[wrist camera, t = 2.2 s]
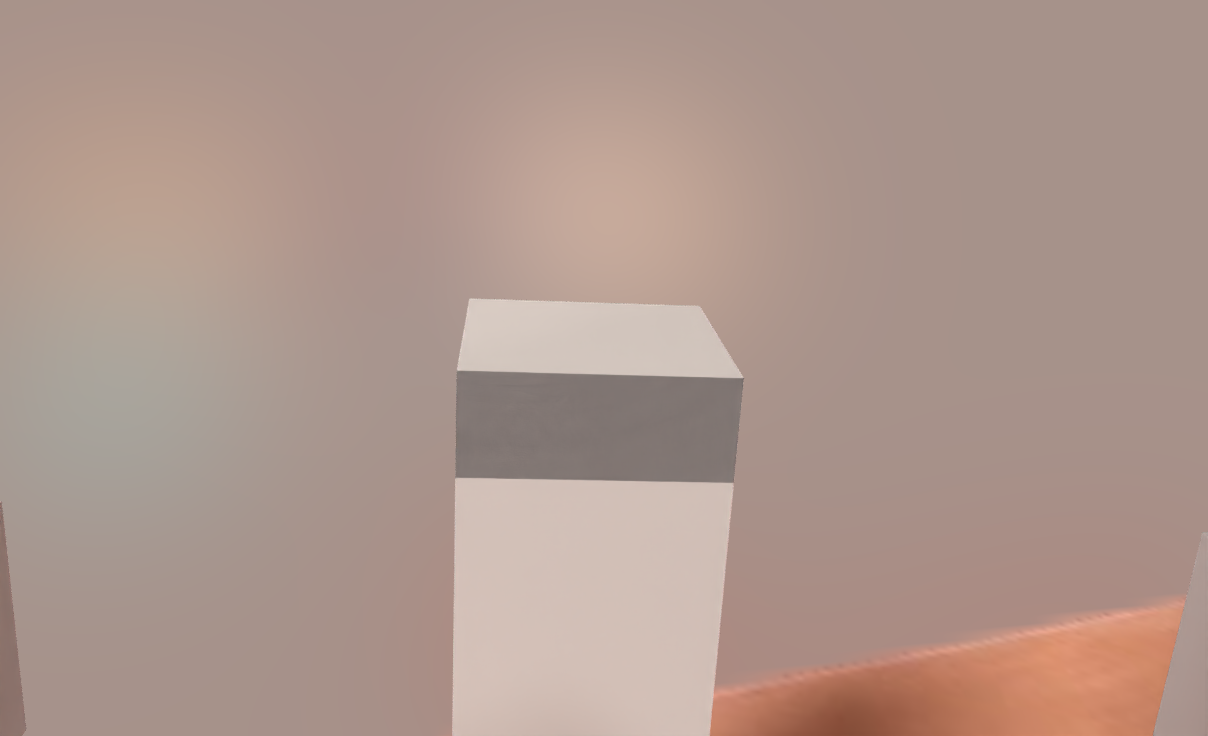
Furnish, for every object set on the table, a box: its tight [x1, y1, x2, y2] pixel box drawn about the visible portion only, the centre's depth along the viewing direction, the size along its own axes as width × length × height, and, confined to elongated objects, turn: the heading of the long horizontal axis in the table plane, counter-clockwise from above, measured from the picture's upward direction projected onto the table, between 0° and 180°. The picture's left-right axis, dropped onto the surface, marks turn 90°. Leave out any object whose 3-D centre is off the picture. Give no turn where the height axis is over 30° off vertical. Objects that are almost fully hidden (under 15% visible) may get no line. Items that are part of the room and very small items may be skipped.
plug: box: [452, 299, 744, 736], centre depth 24 cm, size 5×5×14 cm
